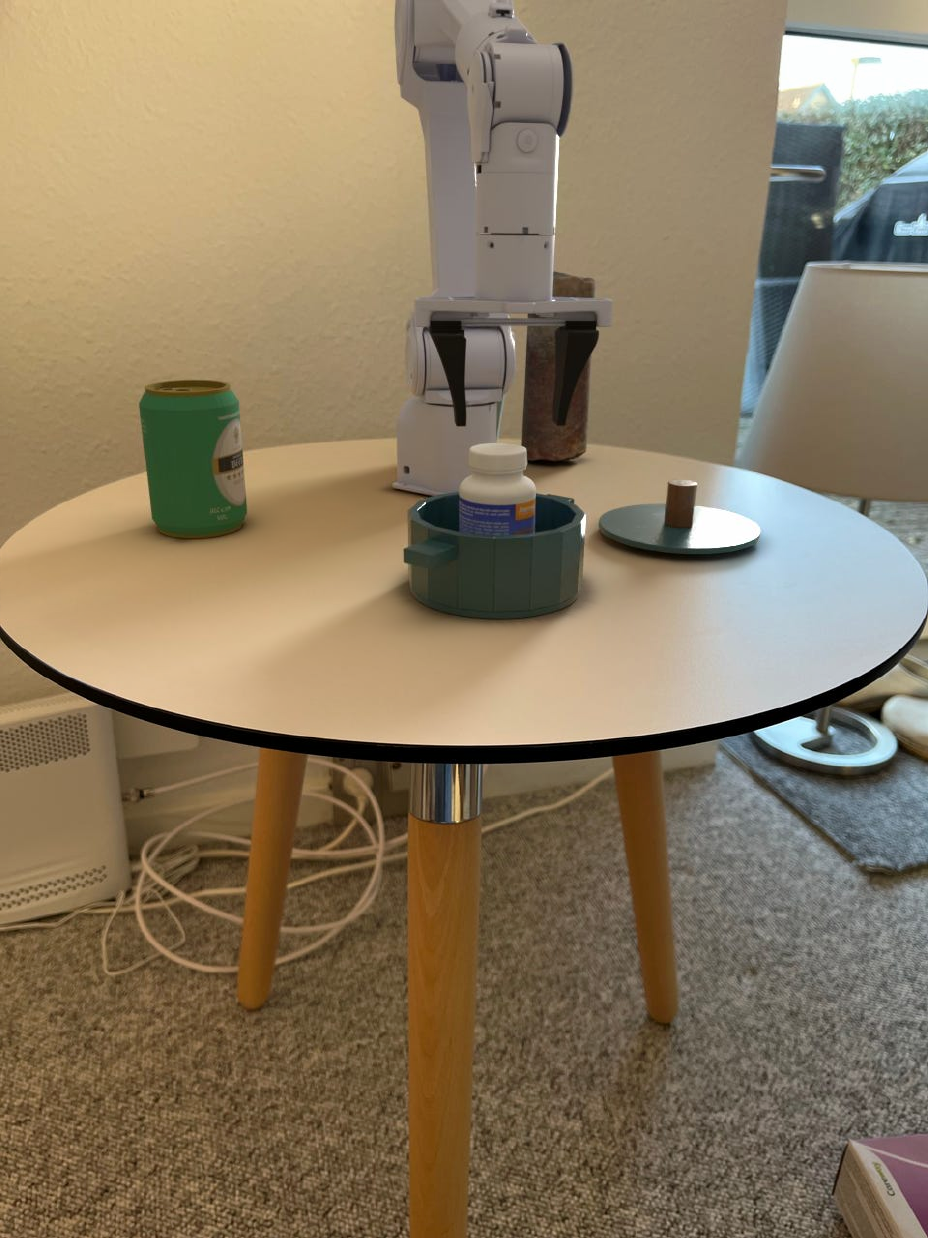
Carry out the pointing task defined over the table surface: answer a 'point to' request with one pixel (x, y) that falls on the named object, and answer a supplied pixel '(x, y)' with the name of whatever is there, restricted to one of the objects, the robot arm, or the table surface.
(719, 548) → the lid
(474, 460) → the pill bottle
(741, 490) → the table surface
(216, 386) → the beverage can
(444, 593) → the pot
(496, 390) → the robot arm
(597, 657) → the table surface
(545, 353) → the candle
